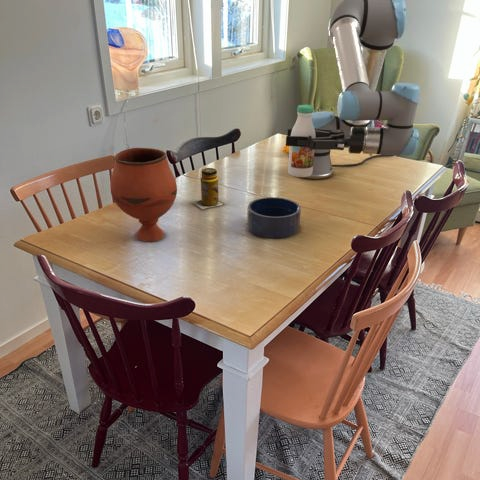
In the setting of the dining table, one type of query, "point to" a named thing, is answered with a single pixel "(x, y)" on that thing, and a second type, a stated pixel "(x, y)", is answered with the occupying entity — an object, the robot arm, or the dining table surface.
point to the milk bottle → (302, 156)
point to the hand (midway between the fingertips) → (286, 137)
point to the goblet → (144, 188)
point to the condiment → (208, 189)
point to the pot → (273, 217)
